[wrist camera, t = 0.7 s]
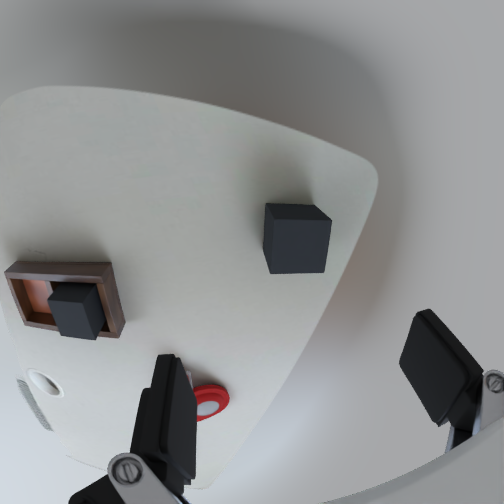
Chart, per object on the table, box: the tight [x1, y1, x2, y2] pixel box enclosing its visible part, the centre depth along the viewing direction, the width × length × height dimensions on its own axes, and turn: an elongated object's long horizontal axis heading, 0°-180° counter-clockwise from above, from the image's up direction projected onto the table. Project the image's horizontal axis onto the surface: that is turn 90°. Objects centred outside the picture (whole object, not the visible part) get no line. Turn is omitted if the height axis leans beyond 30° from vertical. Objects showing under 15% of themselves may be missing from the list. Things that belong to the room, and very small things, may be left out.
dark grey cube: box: [47, 282, 106, 340], centre depth 26 cm, size 5×5×5 cm
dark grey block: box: [263, 203, 332, 274], centre depth 25 cm, size 5×5×5 cm
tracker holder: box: [185, 371, 230, 422], centre depth 35 cm, size 12×4×10 cm
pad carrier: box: [4, 261, 126, 338], centre depth 27 cm, size 8×16×3 cm, turn 88°
